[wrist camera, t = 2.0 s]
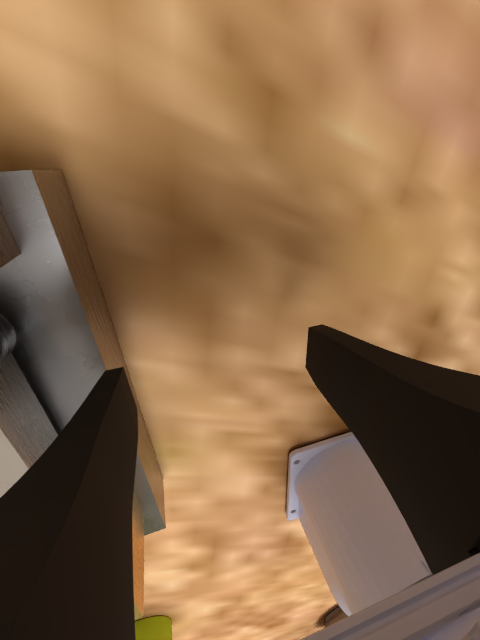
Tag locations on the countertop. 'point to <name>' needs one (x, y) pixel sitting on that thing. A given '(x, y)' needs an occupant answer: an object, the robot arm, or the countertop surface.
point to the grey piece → (62, 313)
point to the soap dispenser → (153, 628)
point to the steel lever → (18, 416)
